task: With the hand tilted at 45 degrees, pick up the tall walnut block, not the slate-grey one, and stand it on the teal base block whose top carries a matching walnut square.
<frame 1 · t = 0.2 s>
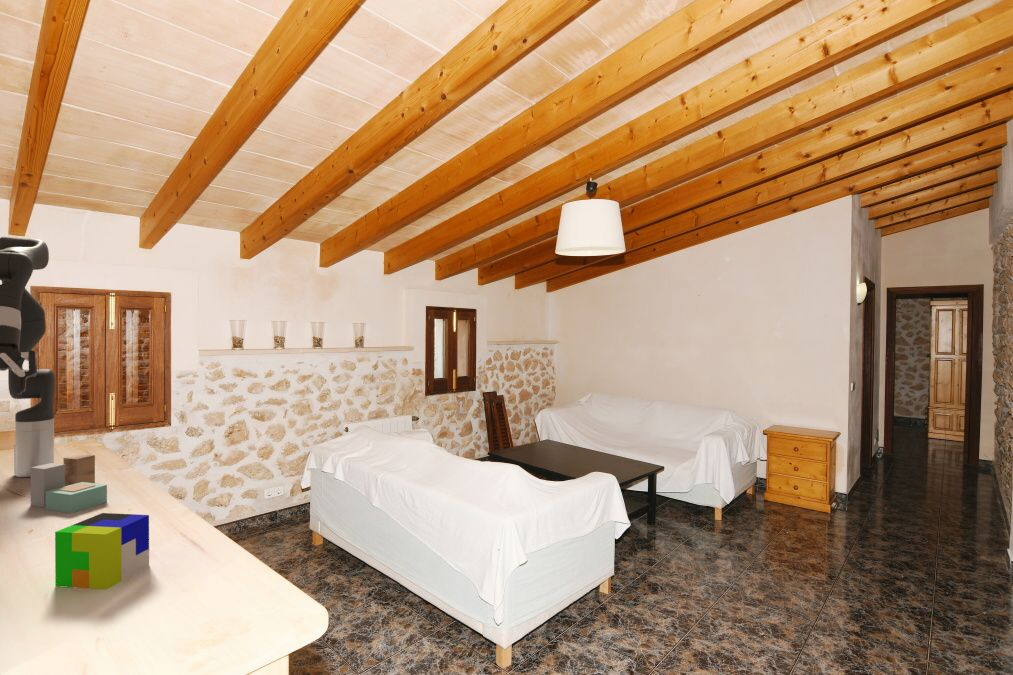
teal base block: (76, 506, 140), on the table
puzzle toy: (104, 576, 101), on the table
slate-grey block: (48, 503, 141), on the table
walnut block: (79, 491, 152), on the table
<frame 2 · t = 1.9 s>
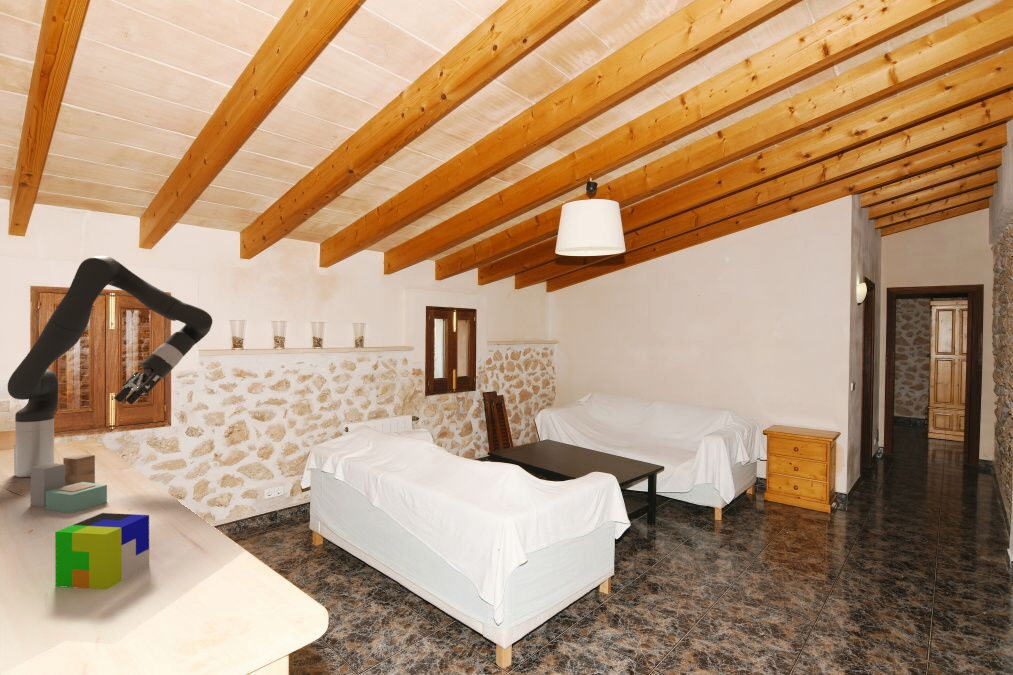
hand: (122, 401, 160), 25 cm above the table, tool tilted 45°, fingers open, 8 cm apart
nothing on the table moved.
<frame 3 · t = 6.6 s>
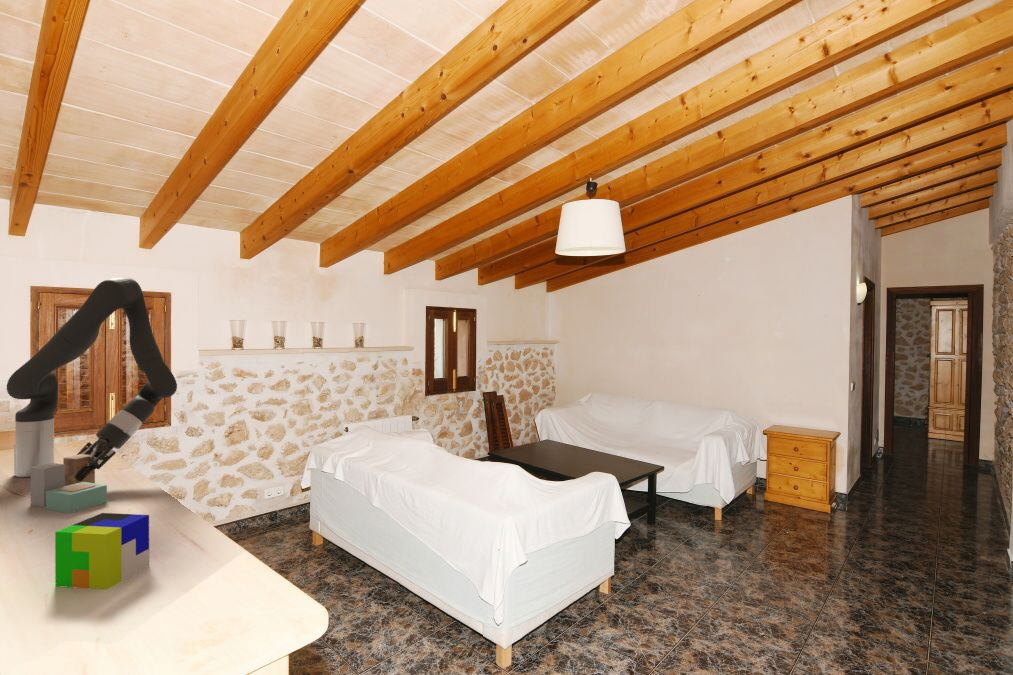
hand: (72, 477, 150), 4 cm above the table, tool tilted 45°, fingers closed on walnut block, 6 cm apart
walnut block: (79, 491, 152), on the table, touching gripper
everything else where it was.
when the fingers open (11 cm above the table, at t = 12.6 s): walnut block drops 2 cm, point 5 cm above the table.
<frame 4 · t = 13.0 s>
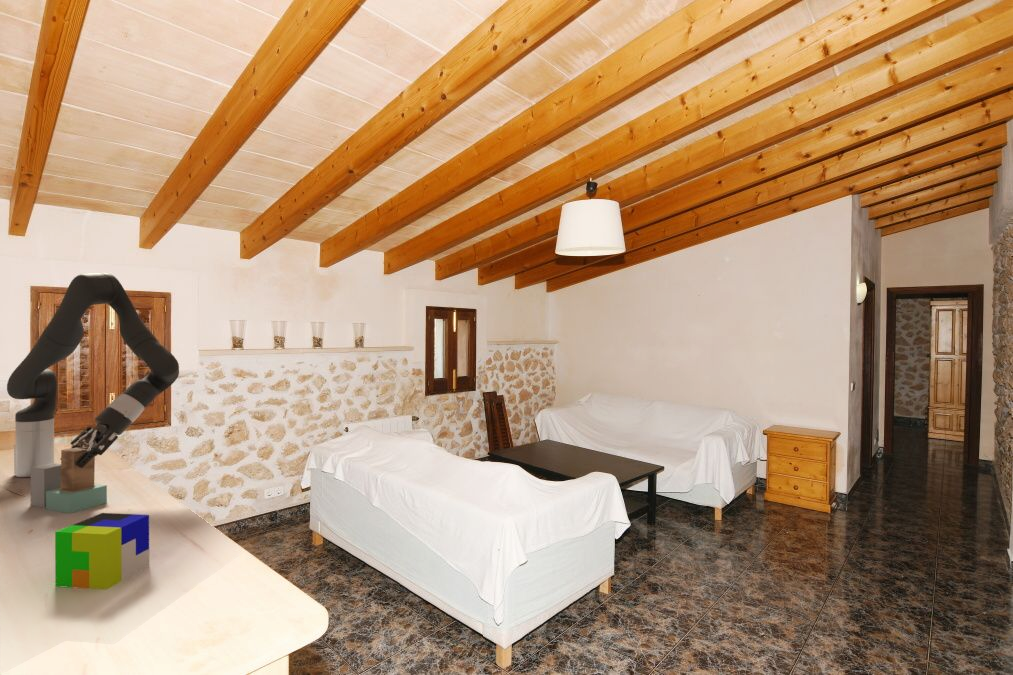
hand: (70, 463, 138), 11 cm above the table, tool tilted 45°, fingers open, 8 cm apart
walnut block: (77, 487, 140), point 5 cm above the table
everything else where it was.
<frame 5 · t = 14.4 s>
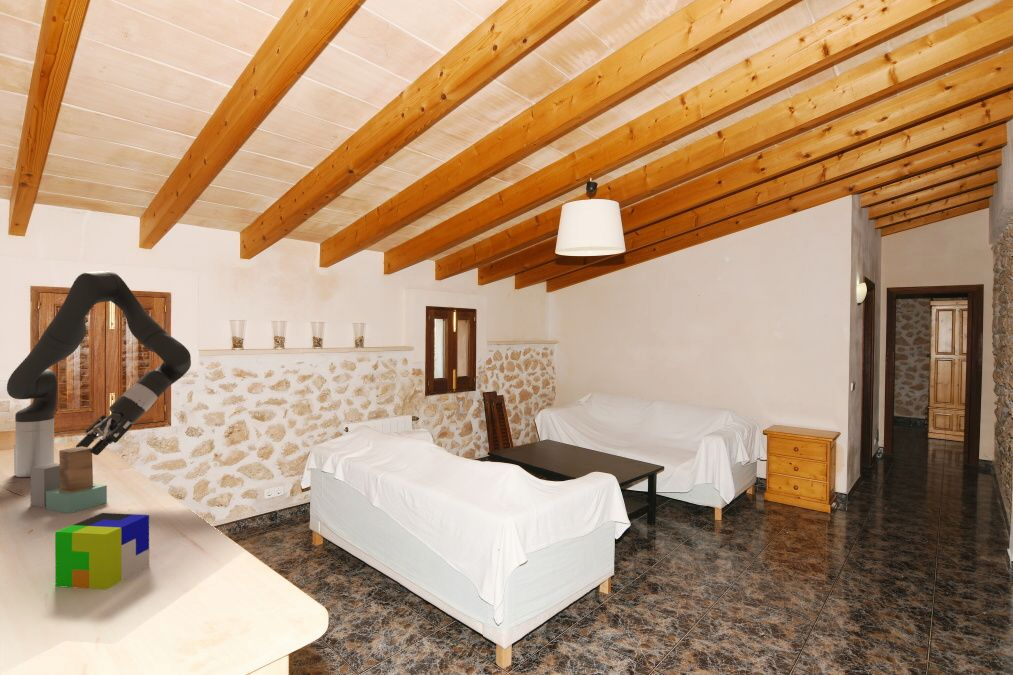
hand: (85, 451, 141), 14 cm above the table, tool tilted 45°, fingers open, 8 cm apart
teal base block: (77, 506, 140), on the table, touching walnut block
walnut block: (76, 487, 140), point 5 cm above the table, touching teal base block
everything else where it was.
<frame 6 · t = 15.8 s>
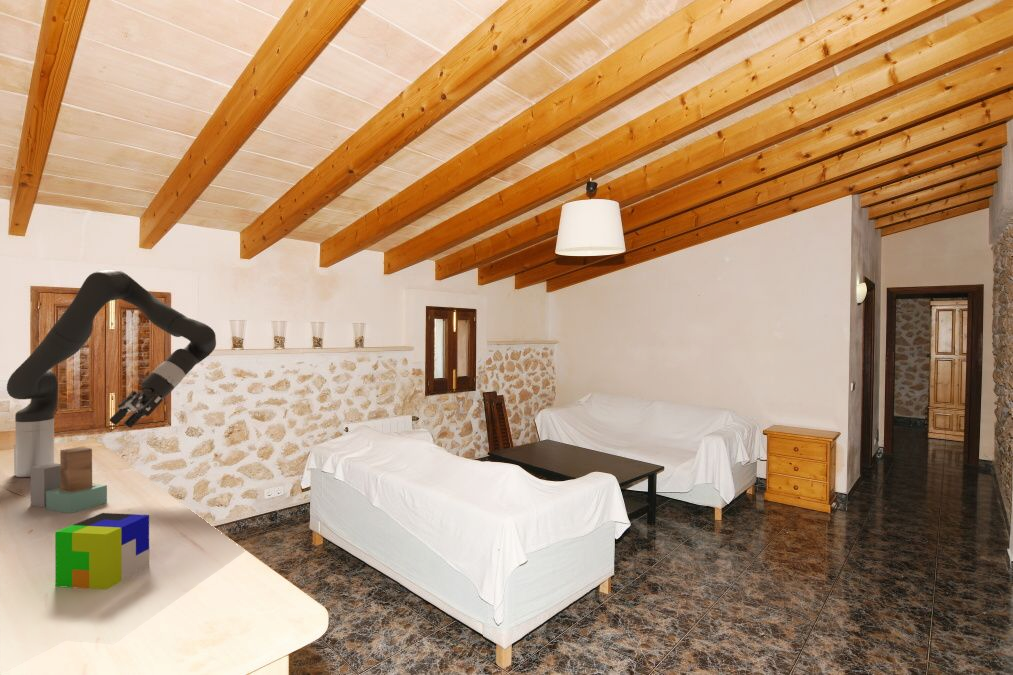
hand: (119, 424, 148), 20 cm above the table, tool tilted 45°, fingers open, 8 cm apart
nothing on the table moved.
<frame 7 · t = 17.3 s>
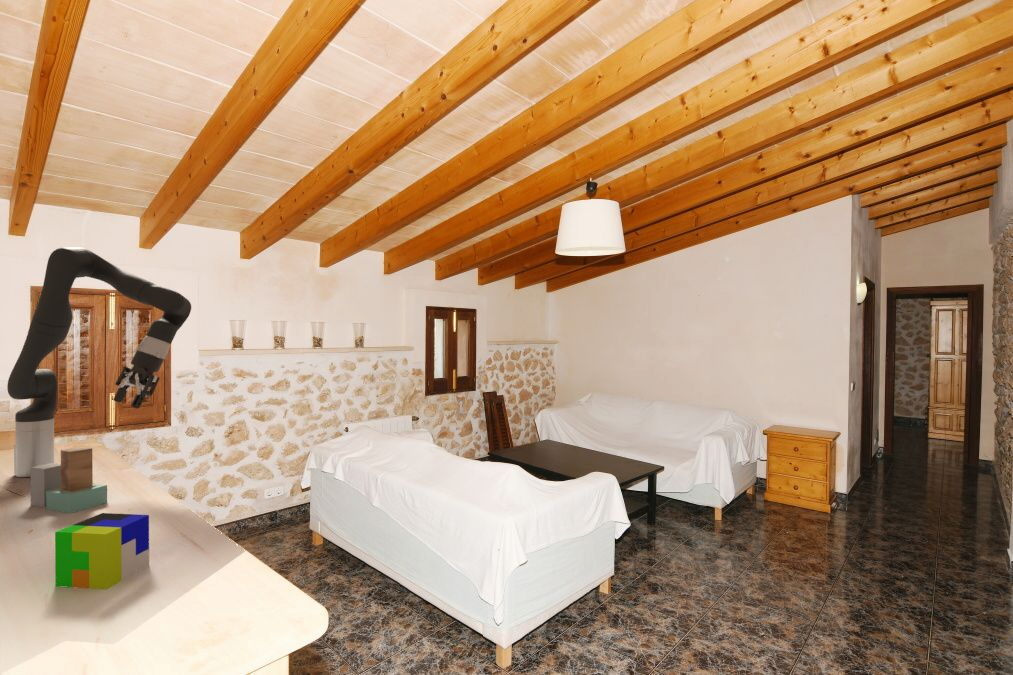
hand: (125, 404, 157), 24 cm above the table, tool tilted 25°, fingers open, 8 cm apart
nothing on the table moved.
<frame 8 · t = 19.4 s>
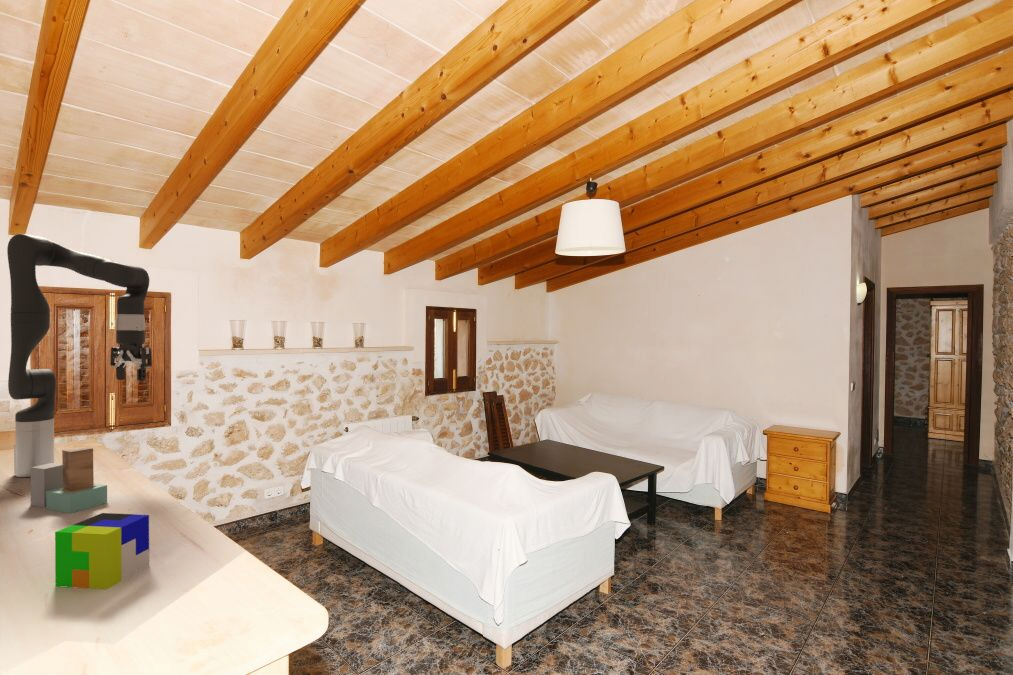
hand: (131, 380, 168), 30 cm above the table, tool pointing down, fingers open, 8 cm apart
nothing on the table moved.
at the end: walnut block 0.3 cm off-centre on the teal base block, point 5.2 cm above the teal base block's base; walnut block tilted 1°; slate-grey block moved 0.0 cm from its start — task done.
